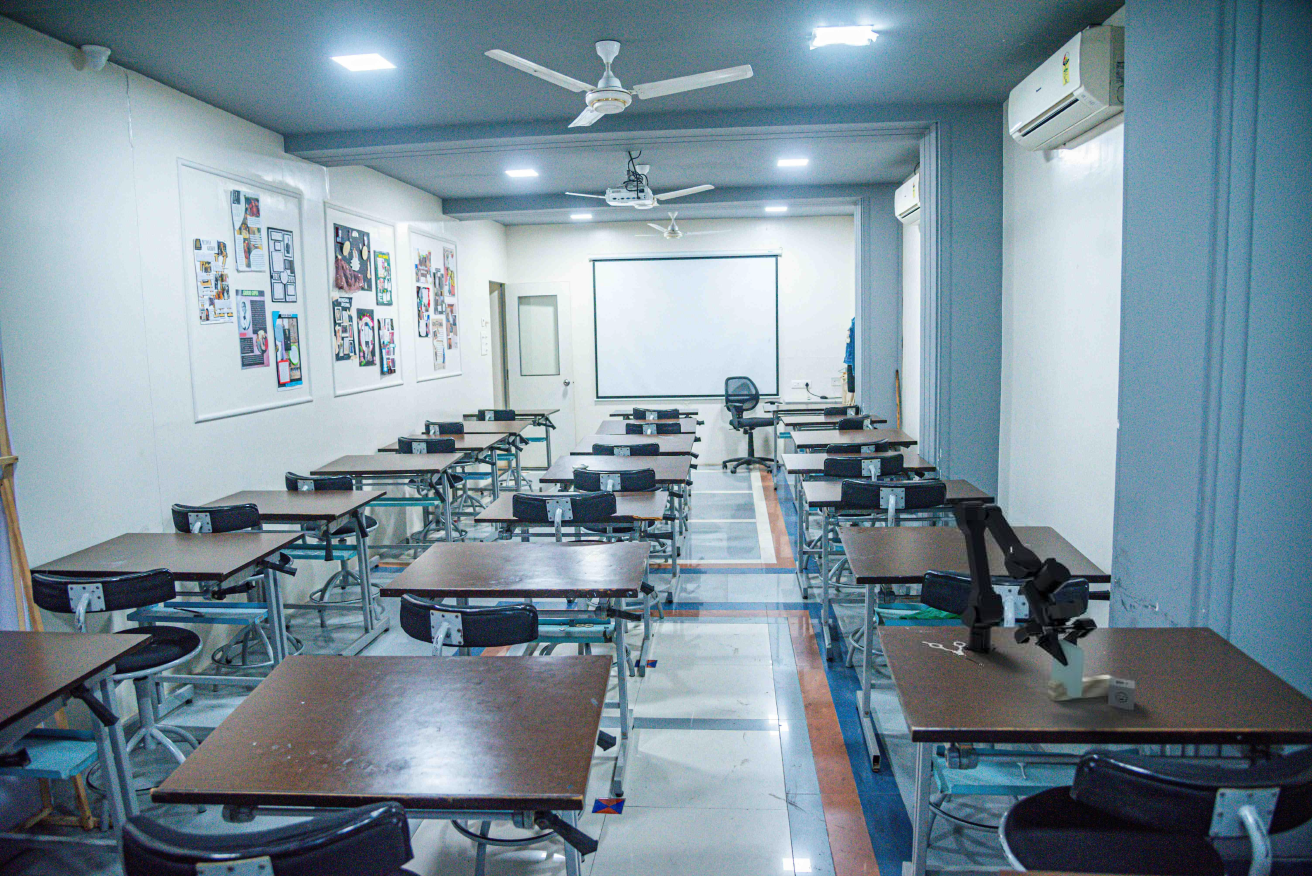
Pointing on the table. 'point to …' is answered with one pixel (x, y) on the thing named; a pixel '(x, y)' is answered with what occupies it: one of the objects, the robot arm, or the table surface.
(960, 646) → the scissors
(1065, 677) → the notched plate
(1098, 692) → the cream stepped bar
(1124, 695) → the grey cube
